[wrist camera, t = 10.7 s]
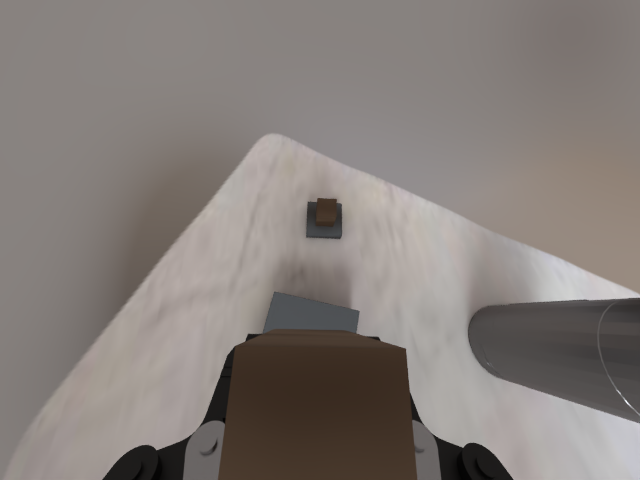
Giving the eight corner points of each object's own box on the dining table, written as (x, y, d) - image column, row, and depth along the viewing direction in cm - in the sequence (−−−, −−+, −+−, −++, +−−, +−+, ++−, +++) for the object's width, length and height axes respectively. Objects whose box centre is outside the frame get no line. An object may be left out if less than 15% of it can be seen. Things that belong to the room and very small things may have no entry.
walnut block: (346, 413, 15) (427, 589, 5) (267, 413, 14) (201, 601, 5) (345, 330, 16) (405, 348, 7) (274, 328, 16) (235, 346, 6)
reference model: (340, 238, 34) (346, 226, 29) (306, 237, 33) (306, 224, 28) (339, 208, 35) (345, 191, 30) (307, 206, 35) (308, 189, 30)
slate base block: (337, 396, 27) (344, 413, 23) (256, 378, 27) (246, 391, 23) (350, 311, 31) (359, 310, 26) (278, 295, 31) (274, 291, 26)
